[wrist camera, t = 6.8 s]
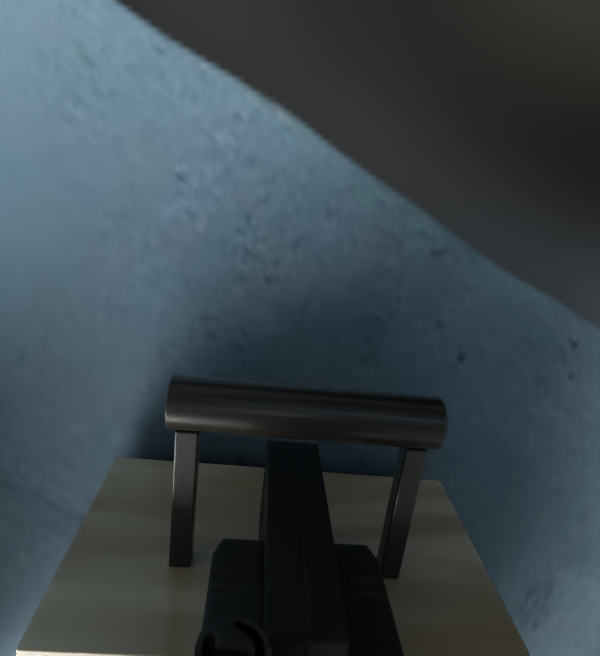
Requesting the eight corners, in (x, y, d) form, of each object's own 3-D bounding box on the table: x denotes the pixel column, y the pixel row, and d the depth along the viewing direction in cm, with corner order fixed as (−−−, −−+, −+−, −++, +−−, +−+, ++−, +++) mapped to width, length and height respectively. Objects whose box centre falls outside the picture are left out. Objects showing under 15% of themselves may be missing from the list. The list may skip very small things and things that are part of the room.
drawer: (117, 309, 17) (-3, 425, 10) (473, 343, 18) (611, 473, 11) (114, 729, 23) (40, 994, 16) (378, 737, 24) (424, 989, 17)
